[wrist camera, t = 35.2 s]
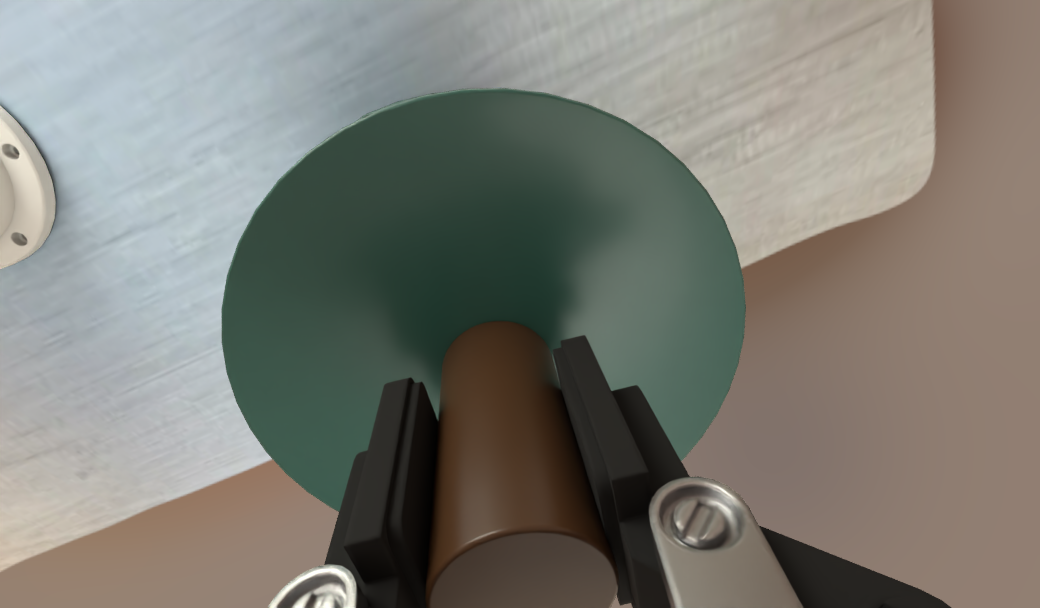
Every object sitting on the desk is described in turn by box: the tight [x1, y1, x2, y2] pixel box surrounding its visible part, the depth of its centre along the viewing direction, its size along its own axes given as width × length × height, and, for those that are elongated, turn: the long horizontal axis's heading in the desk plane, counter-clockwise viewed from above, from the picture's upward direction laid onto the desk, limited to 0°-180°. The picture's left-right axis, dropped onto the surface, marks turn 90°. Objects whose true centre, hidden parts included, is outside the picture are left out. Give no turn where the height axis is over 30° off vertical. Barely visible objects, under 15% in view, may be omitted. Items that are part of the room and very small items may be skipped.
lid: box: [222, 88, 746, 608], centre depth 10 cm, size 13×13×7 cm
